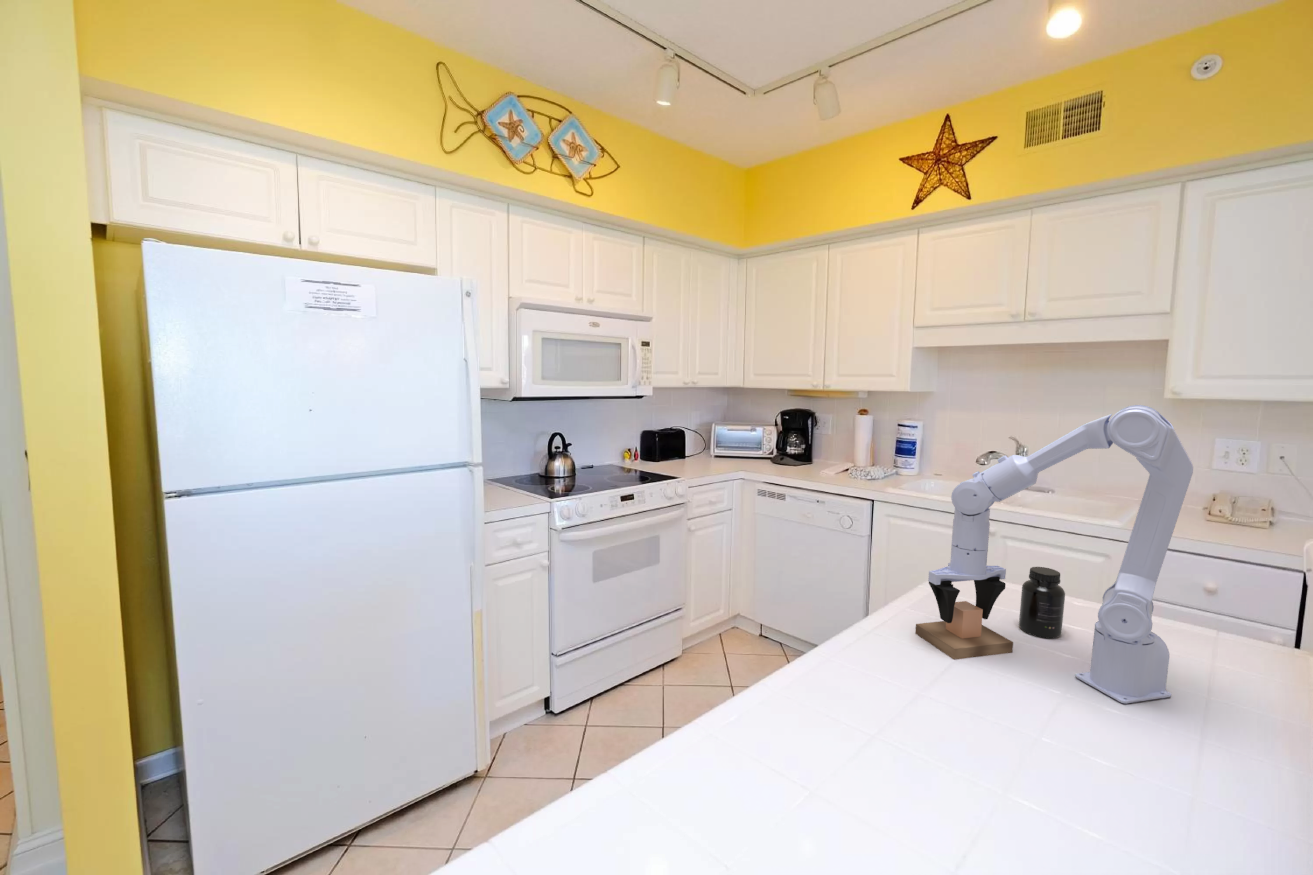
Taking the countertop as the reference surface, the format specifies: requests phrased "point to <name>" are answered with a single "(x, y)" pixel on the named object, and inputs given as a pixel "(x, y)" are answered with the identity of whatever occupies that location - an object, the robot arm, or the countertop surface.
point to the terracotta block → (966, 620)
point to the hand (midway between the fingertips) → (964, 618)
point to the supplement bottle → (1042, 603)
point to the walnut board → (963, 641)
